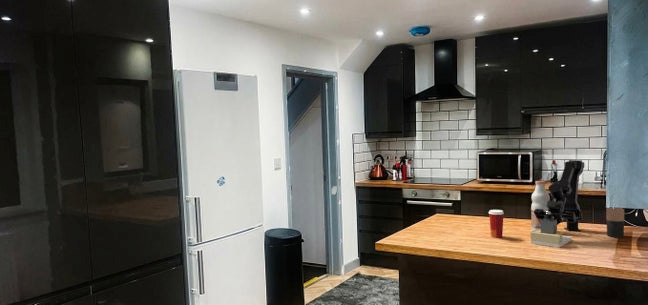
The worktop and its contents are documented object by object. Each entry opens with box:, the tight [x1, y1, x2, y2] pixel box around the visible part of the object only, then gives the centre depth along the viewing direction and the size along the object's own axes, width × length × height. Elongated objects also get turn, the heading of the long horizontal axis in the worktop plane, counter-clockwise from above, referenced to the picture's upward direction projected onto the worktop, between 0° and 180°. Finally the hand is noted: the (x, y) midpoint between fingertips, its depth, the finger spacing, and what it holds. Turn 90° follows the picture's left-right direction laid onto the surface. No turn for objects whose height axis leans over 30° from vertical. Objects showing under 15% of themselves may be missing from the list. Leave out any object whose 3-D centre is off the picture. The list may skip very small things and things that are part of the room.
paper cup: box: [488, 209, 505, 239], centre depth 233 cm, size 8×8×14 cm
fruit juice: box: [530, 180, 551, 232], centre depth 241 cm, size 9×9×28 cm
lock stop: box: [540, 218, 558, 234], centre depth 217 cm, size 5×6×10 cm
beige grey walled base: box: [530, 230, 573, 248], centre depth 220 cm, size 20×13×6 cm, turn 134°
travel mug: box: [606, 207, 625, 239], centre depth 225 cm, size 8×8×20 cm
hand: (550, 229), depth 219 cm, fingers closed
